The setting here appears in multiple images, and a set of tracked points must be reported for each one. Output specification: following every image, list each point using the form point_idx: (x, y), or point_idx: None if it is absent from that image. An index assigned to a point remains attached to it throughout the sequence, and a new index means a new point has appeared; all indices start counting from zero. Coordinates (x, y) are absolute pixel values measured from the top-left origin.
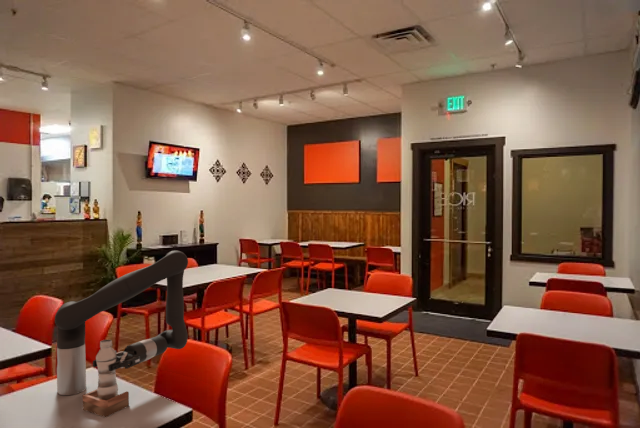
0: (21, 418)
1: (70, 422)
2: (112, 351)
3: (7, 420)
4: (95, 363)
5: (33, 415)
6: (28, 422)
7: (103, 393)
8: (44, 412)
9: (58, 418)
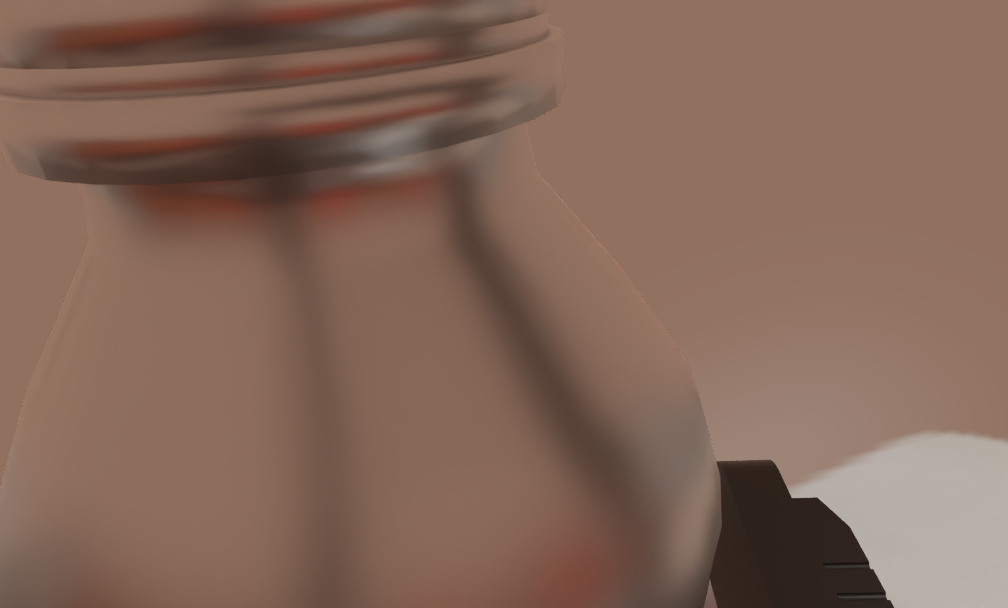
0: (933, 481)
1: None
2: (43, 356)
3: (960, 438)
4: (722, 534)
5: (936, 533)
6: (817, 478)
7: None
8: (945, 595)
9: (712, 592)
